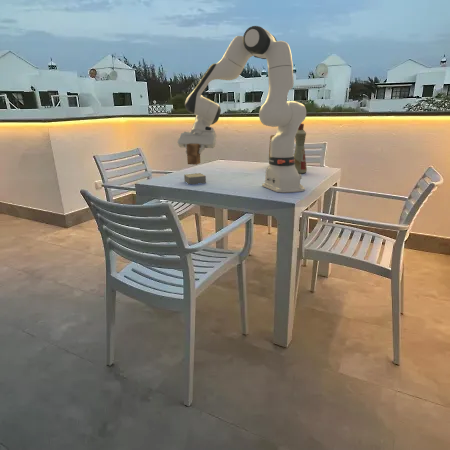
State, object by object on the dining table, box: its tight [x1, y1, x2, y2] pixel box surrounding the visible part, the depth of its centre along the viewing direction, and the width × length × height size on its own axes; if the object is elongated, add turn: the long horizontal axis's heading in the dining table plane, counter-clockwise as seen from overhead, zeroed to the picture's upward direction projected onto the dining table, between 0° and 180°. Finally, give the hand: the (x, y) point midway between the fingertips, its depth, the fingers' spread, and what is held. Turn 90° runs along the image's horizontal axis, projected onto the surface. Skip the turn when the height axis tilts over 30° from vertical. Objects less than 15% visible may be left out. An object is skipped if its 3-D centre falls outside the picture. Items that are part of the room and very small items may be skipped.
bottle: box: [293, 123, 307, 175], centre depth 189 cm, size 9×9×28 cm
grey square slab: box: [183, 172, 207, 185], centre depth 174 cm, size 9×9×4 cm
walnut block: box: [186, 144, 201, 166], centre depth 169 cm, size 5×5×10 cm
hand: (193, 153), depth 169 cm, fingers closed on walnut block, 5 cm apart
